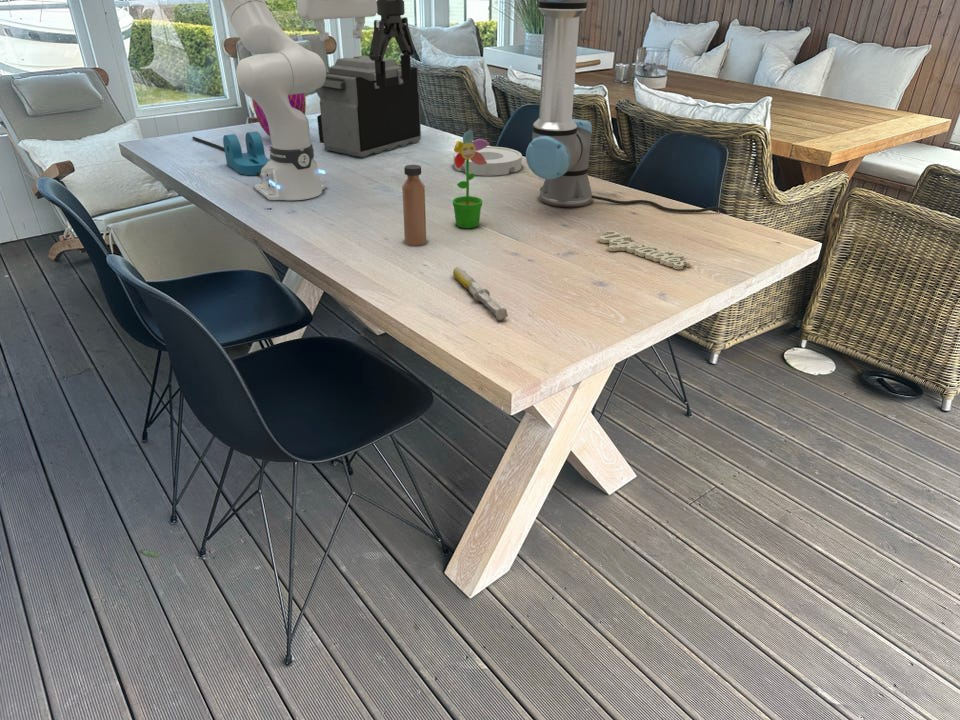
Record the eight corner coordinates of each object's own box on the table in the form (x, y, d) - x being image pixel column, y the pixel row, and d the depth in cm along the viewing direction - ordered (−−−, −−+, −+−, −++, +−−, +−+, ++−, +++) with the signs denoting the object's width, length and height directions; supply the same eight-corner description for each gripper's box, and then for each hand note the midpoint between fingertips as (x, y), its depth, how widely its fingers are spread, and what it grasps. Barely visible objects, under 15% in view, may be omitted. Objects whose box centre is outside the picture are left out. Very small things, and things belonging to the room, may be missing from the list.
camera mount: (227, 164, 233) (221, 132, 227) (257, 160, 238) (252, 129, 233) (244, 176, 220) (239, 143, 215) (276, 172, 225) (271, 139, 220)
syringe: (449, 274, 155) (449, 263, 153) (465, 272, 156) (464, 260, 154) (490, 323, 135) (491, 310, 133) (508, 319, 136) (508, 307, 134)
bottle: (430, 241, 173) (428, 167, 164) (417, 247, 169) (414, 172, 160) (414, 236, 176) (411, 164, 166) (400, 242, 172) (396, 169, 162)
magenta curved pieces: (293, 132, 276) (283, 50, 261) (319, 140, 264) (310, 56, 249) (249, 139, 265) (236, 54, 250) (273, 148, 253) (261, 60, 238)
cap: (424, 173, 164) (424, 166, 163) (414, 176, 161) (413, 169, 160) (411, 170, 166) (411, 163, 165) (401, 174, 163) (400, 167, 162)
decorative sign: (585, 238, 173) (610, 229, 179) (584, 241, 173) (610, 233, 179) (673, 269, 156) (698, 259, 162) (672, 273, 156) (697, 262, 162)
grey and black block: (383, 133, 276) (378, 52, 261) (425, 141, 265) (422, 56, 250) (314, 150, 251) (304, 61, 235) (358, 160, 240) (350, 67, 224)
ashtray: (455, 157, 245) (455, 145, 243) (520, 158, 244) (521, 146, 242) (451, 174, 225) (451, 162, 223) (522, 176, 224) (522, 164, 222)
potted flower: (459, 231, 179) (458, 133, 166) (446, 222, 185) (444, 126, 172) (490, 226, 182) (492, 129, 170) (477, 217, 188) (478, 123, 176)
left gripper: (364, -28, 165) (368, 35, 172) (289, -27, 153) (297, 41, 160) (380, -27, 161) (384, 37, 168) (305, -27, 149) (312, 43, 156)
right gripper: (401, -4, 196) (405, 76, 206) (351, 0, 176) (358, 88, 187) (424, -3, 193) (427, 78, 204) (376, 1, 173) (382, 90, 184)
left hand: (341, 39), depth 164 cm, fingers open, 8 cm apart
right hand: (394, 83), depth 195 cm, fingers open, 13 cm apart
